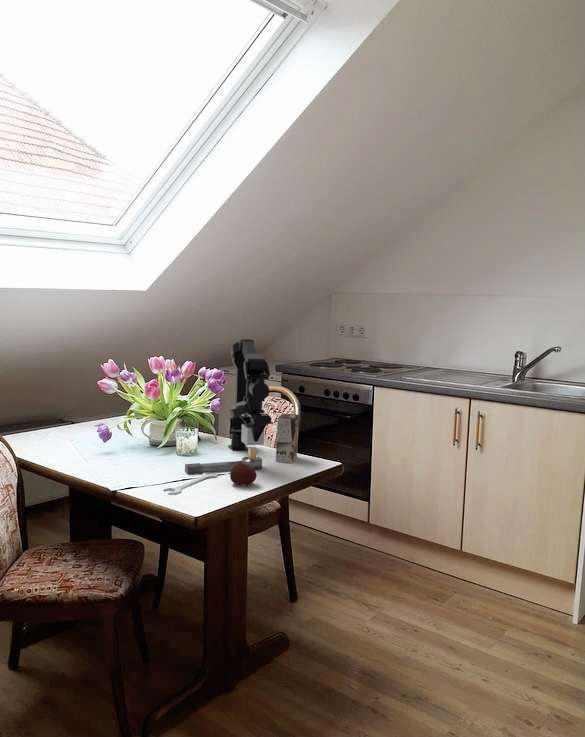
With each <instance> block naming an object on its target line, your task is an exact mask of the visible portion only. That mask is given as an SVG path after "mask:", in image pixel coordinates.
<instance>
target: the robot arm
mask: <svg viewBox="0 0 585 737" xmlns="http://www.w3.org/2000/svg"><path fill="white" fill-rule="evenodd" d="M230 358H231V362H232V364H233V365H234V367H235V392H234V393H235V394H234V395H235V396H234V397H235V398H234V404H232V405H230V406H228V409H229V412H230V417H229V418H228V421H227V425H226V426H227V429H226V431H227V432H228V434H229V435H230V434H231V440H230V441H231V442H230V444H228V445H227V446H228V447H229V449H231V450H232V451H244V450H247V451H248V447H249V446H248V445H246V444H244V443H243V442H242V441H241V435H242V424H251V425H252V427H253V435H254V441H255V442H257V441H258V440H259V438H260V436H261V434H262V432H263V430H264V431H265V429H266V426H267V425H271V424H272V416H270V415H269V414H268V413H265V409H263V402H265V399H267V398H268V396H269V395H270V387H269V386H268V384H267V383H265V380H270V376H271V372H270V366H269V364H268V362H267V361H266V358H265V357H264V356H263V355H260V354H259V353H258V351H257V349H256V344H255V341H254V339H252V338H241V339H239V341H238V342H235V343H234V344H232V346H231V348H230Z"/></svg>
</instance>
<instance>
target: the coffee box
mask: <svg viewBox="0 0 585 737" xmlns="http://www.w3.org/2000/svg"><path fill="white" fill-rule="evenodd" d="M299 419H300V414H296V413H294V414H293V413H282V414H280V416H278V417H277V427H276V444H275V445H276V446H275V447H276V448H275V449H276V450H275V462H280V463H286V464H287V463H288V464H293V462H294V461H295V460H296V459H297V457H298V443H299V442H298V440H299V438H298V437H299V422H300V420H299Z"/></svg>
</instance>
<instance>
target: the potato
mask: <svg viewBox="0 0 585 737" xmlns="http://www.w3.org/2000/svg"><path fill="white" fill-rule="evenodd" d="M256 471H257V470H254V469H253V468H252V467H251V466H249V465H247V464H245V463H238V464H236V465H234V466H233V468H232V469H231V471H229V472H230V473H229V478H230V481H231V482H232V483H233V484H235V485H240V486H246V485H247V486H248V485H251V484H253V483H254V482H255V481H256V479H257V472H256Z"/></svg>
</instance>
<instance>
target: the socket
mask: <svg viewBox="0 0 585 737" xmlns="http://www.w3.org/2000/svg"><path fill="white" fill-rule="evenodd" d="M241 441H242V442H243V443H244V444H246V446H259V445H260V446H261V445H262V446H263V445H264V444H265V429H264V430H263V432H262V434H261V436H260V438H259V440H258V441H257V442H255V441H254V435H253V427H252V425H251V424H242V435H241Z"/></svg>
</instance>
